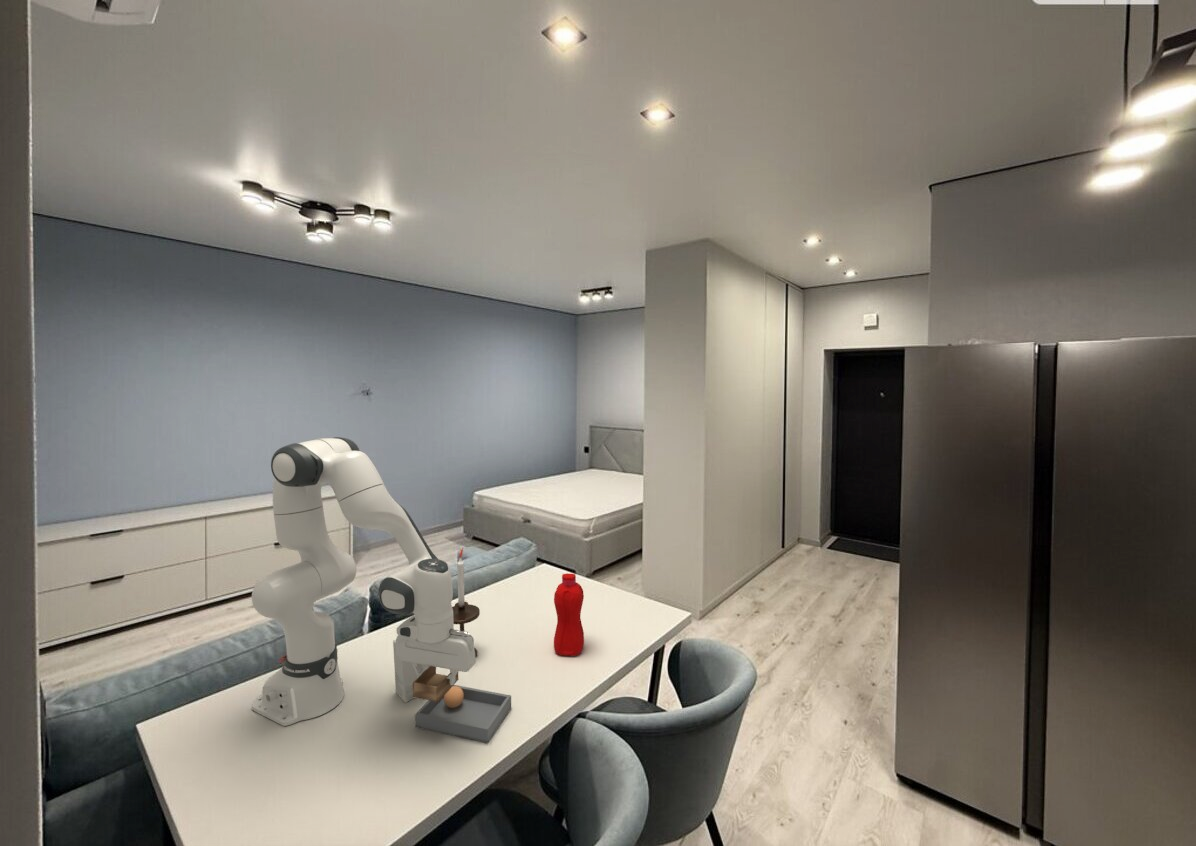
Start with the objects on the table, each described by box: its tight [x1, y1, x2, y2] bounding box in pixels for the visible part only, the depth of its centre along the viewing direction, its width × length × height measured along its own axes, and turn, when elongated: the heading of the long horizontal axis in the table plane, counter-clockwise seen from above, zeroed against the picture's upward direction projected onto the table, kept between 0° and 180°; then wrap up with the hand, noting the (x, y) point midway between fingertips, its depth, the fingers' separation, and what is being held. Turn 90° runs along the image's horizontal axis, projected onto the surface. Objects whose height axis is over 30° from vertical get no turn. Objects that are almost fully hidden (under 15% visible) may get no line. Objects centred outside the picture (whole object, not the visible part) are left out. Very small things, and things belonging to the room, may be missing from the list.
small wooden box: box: [413, 666, 459, 702], centre depth 120 cm, size 7×9×4 cm
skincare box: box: [392, 639, 430, 703], centre depth 135 cm, size 8×7×16 cm
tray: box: [414, 684, 512, 744], centre depth 126 cm, size 20×13×4 cm, turn 75°
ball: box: [444, 686, 464, 708], centre depth 129 cm, size 5×5×5 cm
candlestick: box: [452, 547, 481, 660], centre depth 152 cm, size 11×11×35 cm
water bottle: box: [553, 573, 585, 657], centre depth 157 cm, size 9×11×25 cm
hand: (436, 680), depth 120 cm, fingers closed on small wooden box, 7 cm apart
